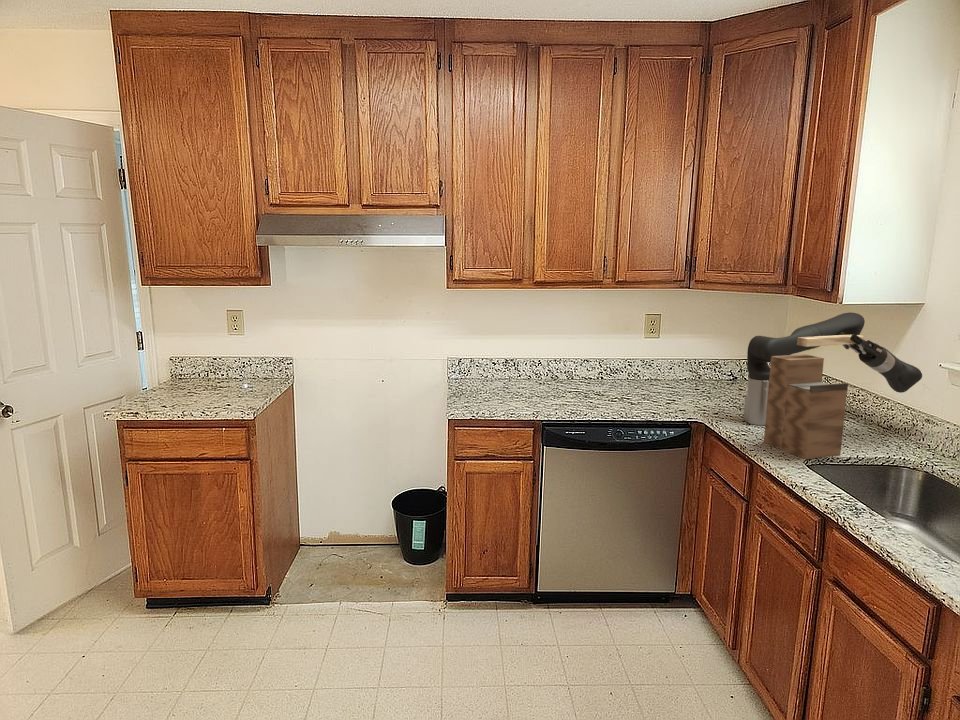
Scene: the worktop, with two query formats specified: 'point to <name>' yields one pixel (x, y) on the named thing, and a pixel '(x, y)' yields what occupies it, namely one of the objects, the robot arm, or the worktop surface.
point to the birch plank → (826, 340)
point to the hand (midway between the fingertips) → (846, 335)
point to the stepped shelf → (804, 408)
